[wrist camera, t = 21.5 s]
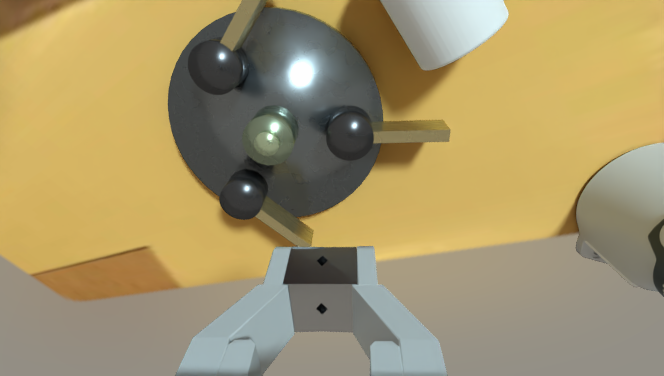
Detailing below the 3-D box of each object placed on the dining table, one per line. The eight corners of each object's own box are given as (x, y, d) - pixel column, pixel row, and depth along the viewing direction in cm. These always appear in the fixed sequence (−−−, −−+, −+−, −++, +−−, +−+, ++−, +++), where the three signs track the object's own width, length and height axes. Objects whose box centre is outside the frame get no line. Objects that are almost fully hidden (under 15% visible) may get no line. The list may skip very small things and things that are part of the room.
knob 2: (221, 187, 41) (211, 202, 38) (243, 161, 39) (234, 175, 36) (299, 242, 44) (295, 260, 41) (322, 221, 42) (320, 238, 39)
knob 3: (329, 148, 38) (327, 161, 35) (327, 106, 35) (324, 116, 32) (439, 145, 37) (447, 158, 34) (444, 102, 35) (453, 112, 32)
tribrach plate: (423, 78, 36) (437, 94, 30) (324, 235, 46) (320, 269, 40) (212, -43, 32) (181, -51, 26) (155, 159, 42) (123, 185, 36)
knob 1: (235, 95, 35) (224, 104, 32) (194, 67, 34) (179, 74, 31) (298, -12, 30) (293, -13, 27) (253, -49, 29) (242, -54, 26)
